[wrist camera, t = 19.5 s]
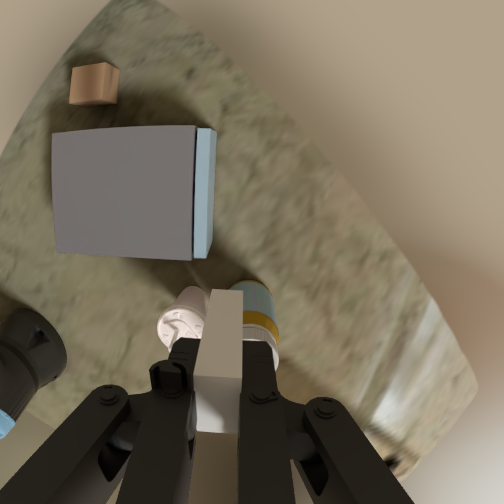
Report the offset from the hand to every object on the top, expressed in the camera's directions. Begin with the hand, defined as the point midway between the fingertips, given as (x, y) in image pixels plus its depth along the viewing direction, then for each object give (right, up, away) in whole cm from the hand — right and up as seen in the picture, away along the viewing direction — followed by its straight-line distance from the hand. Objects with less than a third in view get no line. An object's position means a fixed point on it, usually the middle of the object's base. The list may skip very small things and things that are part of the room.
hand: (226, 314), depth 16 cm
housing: (-14, +12, +26) cm, 32 cm away
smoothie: (-7, -3, +31) cm, 32 cm away
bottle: (+1, -4, +31) cm, 31 cm away
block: (-19, +26, +21) cm, 39 cm away
